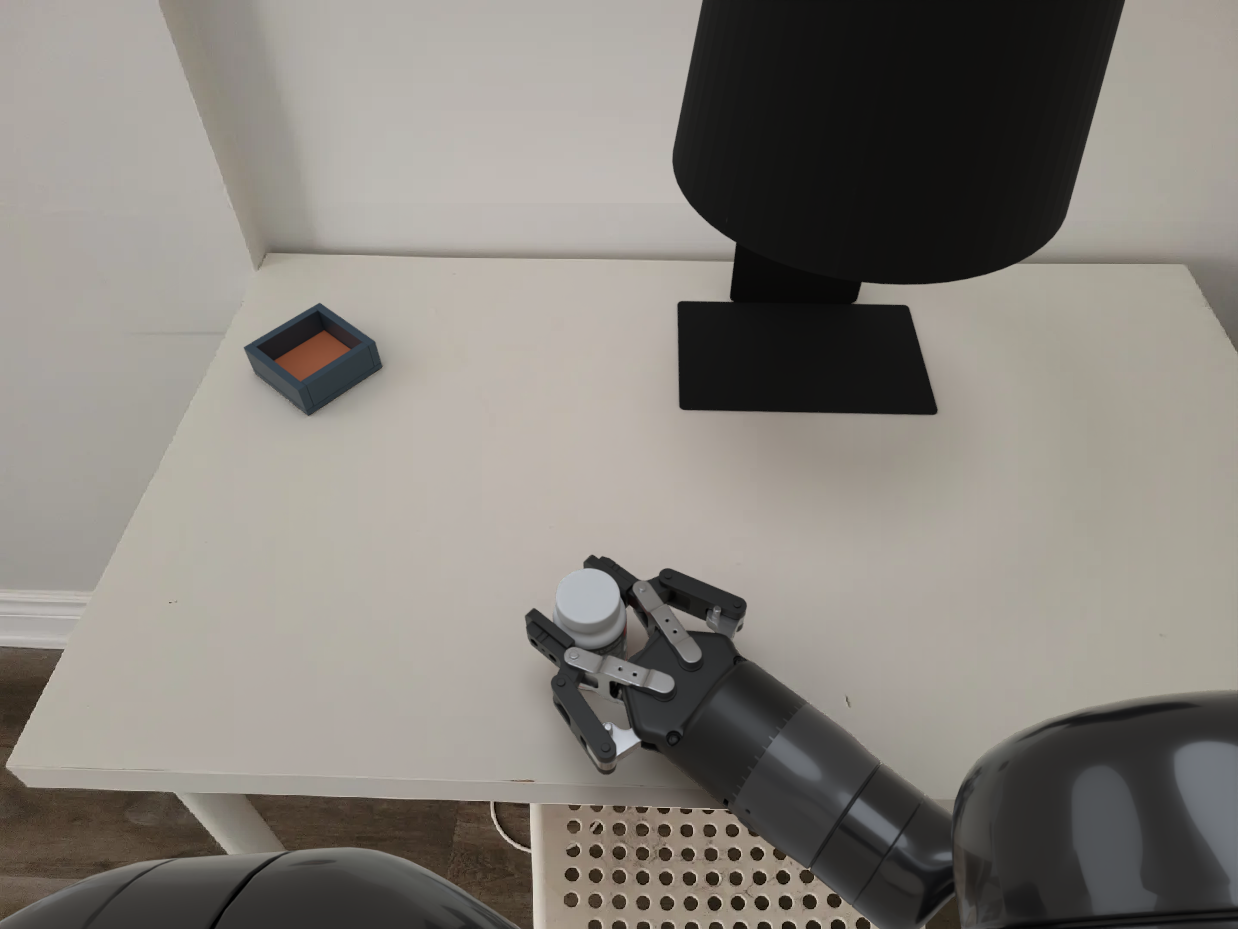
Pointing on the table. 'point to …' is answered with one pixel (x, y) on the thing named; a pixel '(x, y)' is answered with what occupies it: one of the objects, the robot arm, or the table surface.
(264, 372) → the tray
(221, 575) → the table surface
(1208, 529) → the table surface
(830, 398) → the table lamp
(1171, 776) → the robot arm
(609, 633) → the pill bottle
